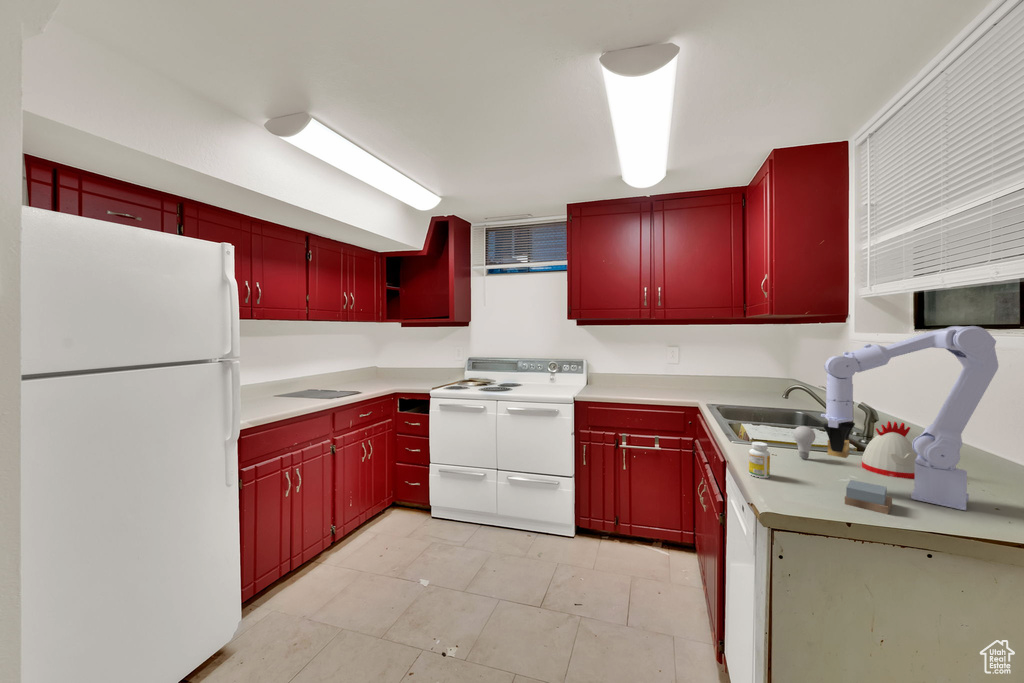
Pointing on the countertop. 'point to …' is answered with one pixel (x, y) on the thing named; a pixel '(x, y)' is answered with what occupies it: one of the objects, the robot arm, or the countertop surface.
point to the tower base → (870, 505)
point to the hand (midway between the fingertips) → (839, 449)
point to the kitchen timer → (890, 453)
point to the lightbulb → (804, 440)
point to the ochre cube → (839, 454)
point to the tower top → (866, 492)
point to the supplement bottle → (759, 460)
